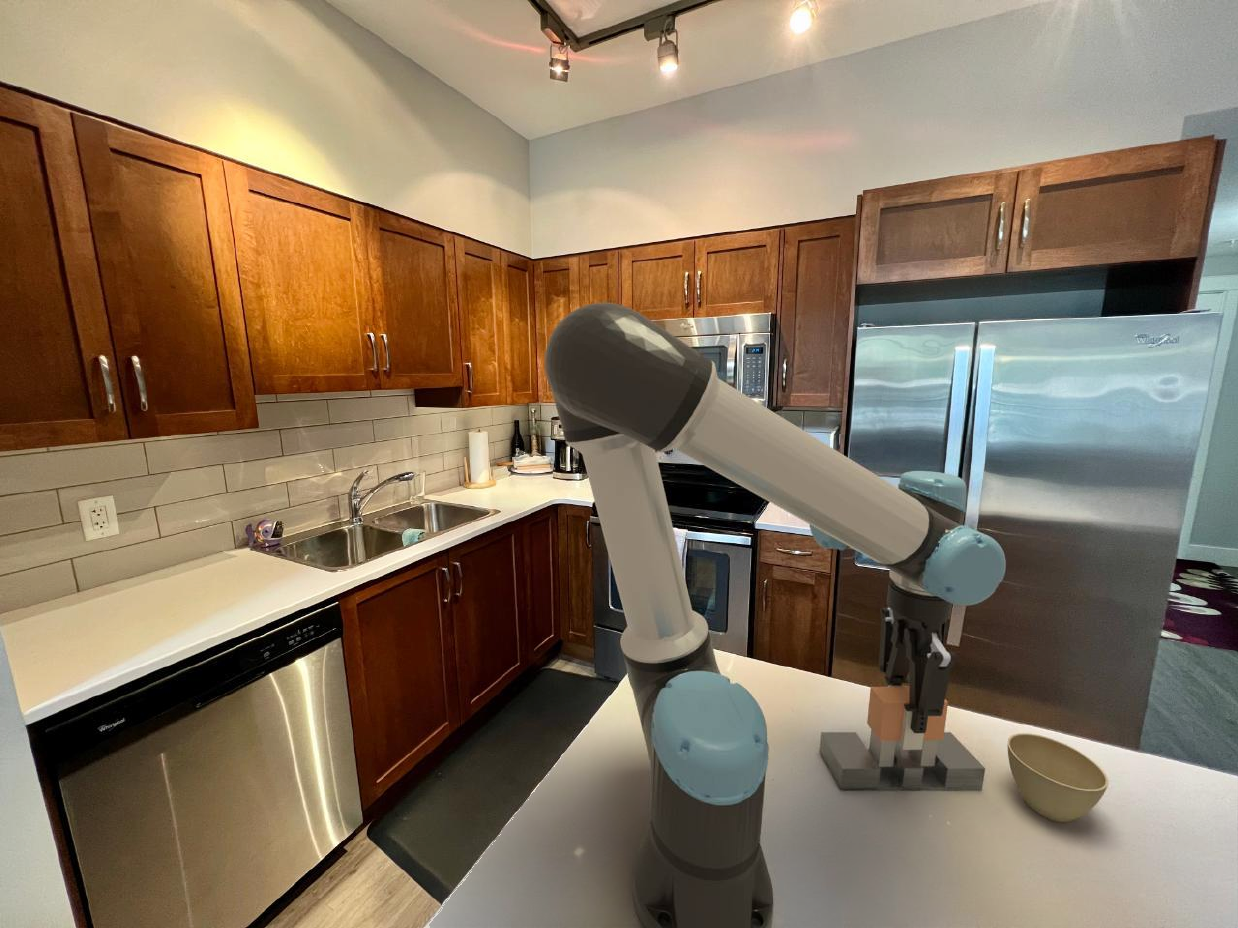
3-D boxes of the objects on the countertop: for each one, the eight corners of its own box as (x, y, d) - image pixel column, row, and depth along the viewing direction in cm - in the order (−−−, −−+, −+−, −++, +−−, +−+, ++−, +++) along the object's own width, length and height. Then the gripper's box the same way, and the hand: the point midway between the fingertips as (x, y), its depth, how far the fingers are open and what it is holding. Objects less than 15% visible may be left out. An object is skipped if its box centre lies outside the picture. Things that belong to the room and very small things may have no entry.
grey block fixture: (840, 790, 68) (842, 768, 67) (819, 752, 74) (821, 732, 74) (981, 790, 68) (985, 768, 67) (947, 752, 75) (950, 732, 74)
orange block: (876, 768, 69) (883, 702, 67) (864, 749, 73) (870, 686, 71) (939, 767, 69) (948, 701, 67) (923, 749, 73) (931, 686, 71)
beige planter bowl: (1119, 847, 60) (1131, 797, 59) (1026, 831, 62) (1036, 782, 60) (1064, 782, 69) (1072, 738, 68) (985, 770, 71) (992, 727, 70)
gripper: (995, 613, 58) (969, 783, 62) (910, 562, 74) (894, 699, 78) (933, 613, 58) (911, 784, 62) (862, 562, 74) (848, 699, 78)
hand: (902, 736), depth 70 cm, fingers closed on orange block, 3 cm apart
